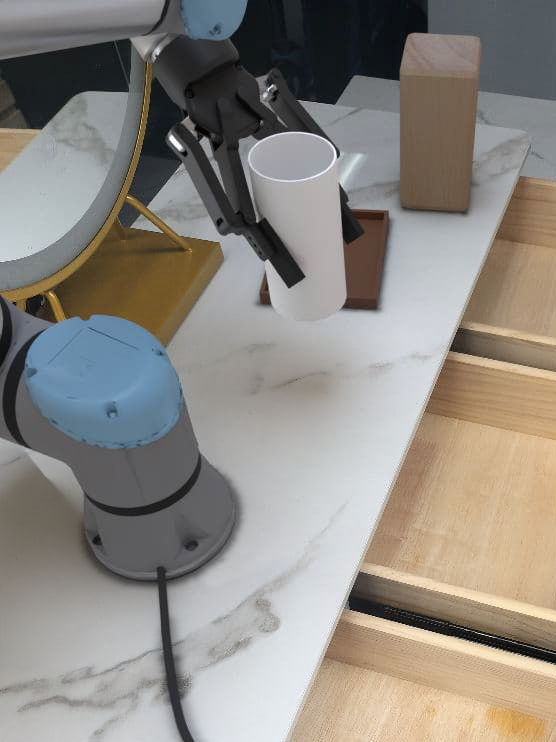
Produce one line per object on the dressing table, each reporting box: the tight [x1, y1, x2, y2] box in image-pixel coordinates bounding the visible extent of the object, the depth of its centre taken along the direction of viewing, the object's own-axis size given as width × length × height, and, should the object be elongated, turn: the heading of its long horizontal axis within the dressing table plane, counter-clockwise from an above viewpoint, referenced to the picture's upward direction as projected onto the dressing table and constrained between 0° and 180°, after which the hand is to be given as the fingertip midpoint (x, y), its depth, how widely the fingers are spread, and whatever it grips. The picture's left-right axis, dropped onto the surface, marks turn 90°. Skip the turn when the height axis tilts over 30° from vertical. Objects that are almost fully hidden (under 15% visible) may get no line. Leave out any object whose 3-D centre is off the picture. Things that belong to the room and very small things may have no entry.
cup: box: [247, 132, 347, 323], centre depth 82 cm, size 8×8×16 cm
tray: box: [259, 208, 390, 310], centre depth 111 cm, size 19×15×2 cm
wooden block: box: [399, 32, 483, 212], centre depth 112 cm, size 10×10×20 cm
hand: (327, 260), depth 82 cm, fingers closed on cup, 8 cm apart
